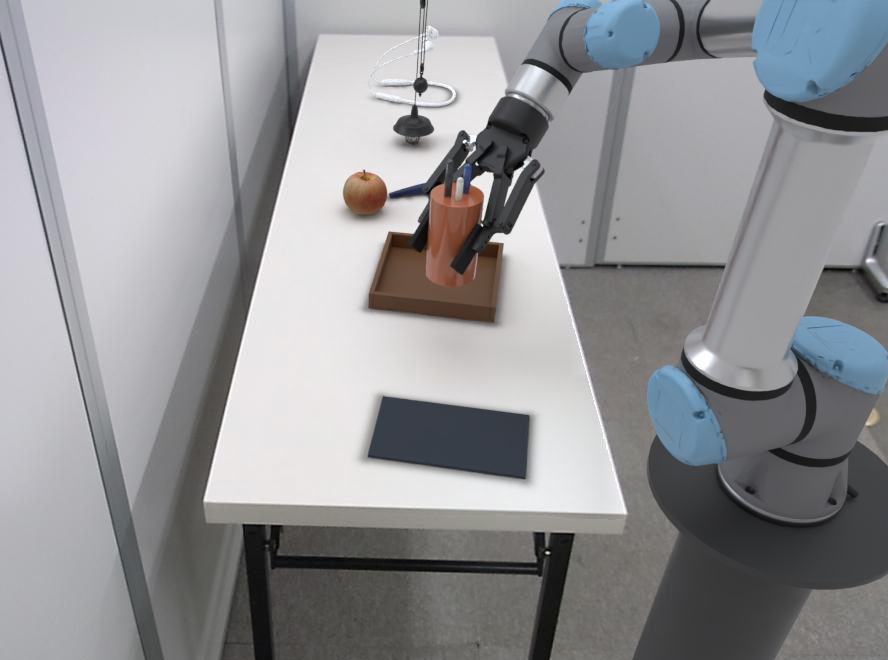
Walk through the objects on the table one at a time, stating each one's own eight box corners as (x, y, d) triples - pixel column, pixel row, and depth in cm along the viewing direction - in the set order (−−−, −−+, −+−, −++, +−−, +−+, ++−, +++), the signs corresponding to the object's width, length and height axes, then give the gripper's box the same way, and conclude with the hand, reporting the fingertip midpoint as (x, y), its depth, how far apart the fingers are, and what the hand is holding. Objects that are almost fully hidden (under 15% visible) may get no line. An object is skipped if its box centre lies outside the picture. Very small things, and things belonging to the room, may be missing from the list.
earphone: (369, 63, 211) (430, 15, 202) (411, 119, 218) (472, 76, 209) (358, 84, 201) (422, 35, 192) (403, 142, 208) (467, 98, 198)
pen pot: (477, 263, 127) (490, 149, 116) (473, 289, 122) (485, 172, 111) (428, 258, 128) (436, 144, 117) (422, 284, 123) (429, 167, 112)
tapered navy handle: (391, 206, 168) (391, 196, 166) (387, 194, 170) (387, 183, 168) (472, 195, 170) (474, 185, 168) (468, 184, 172) (469, 173, 170)
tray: (502, 257, 153) (504, 242, 151) (493, 322, 138) (496, 307, 136) (388, 245, 155) (388, 231, 154) (368, 308, 141) (368, 293, 139)
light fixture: (440, 153, 184) (452, -10, 163) (400, 157, 182) (408, -7, 162) (426, 133, 191) (436, -25, 170) (387, 137, 189) (393, -23, 169)
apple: (336, 204, 167) (336, 163, 161) (377, 198, 168) (378, 158, 163) (350, 224, 161) (350, 183, 156) (392, 218, 163) (393, 177, 158)
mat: (529, 417, 121) (529, 414, 121) (525, 479, 112) (525, 476, 112) (382, 398, 124) (382, 395, 124) (367, 457, 115) (367, 454, 115)
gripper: (597, 146, 117) (502, 298, 118) (480, 102, 128) (395, 242, 130) (580, 118, 110) (480, 278, 112) (458, 74, 122) (369, 221, 123)
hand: (434, 259), depth 121 cm, fingers closed on pen pot, 7 cm apart
